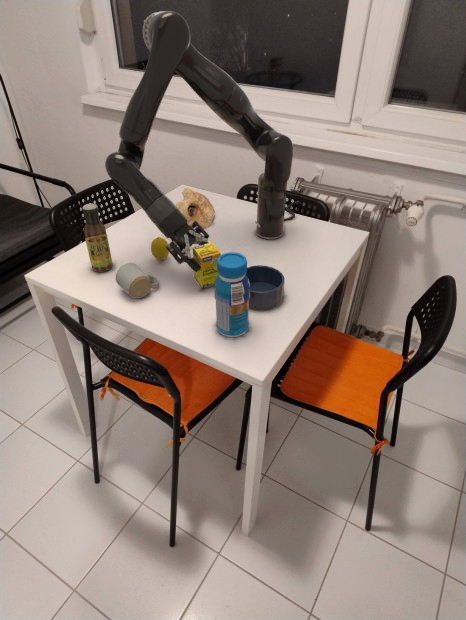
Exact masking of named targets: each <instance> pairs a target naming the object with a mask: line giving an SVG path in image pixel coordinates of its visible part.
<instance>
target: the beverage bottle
mask: <svg viewBox="0 0 466 620" xmlns="http://www.w3.org/2000/svg"><path fill="white" fill-rule="evenodd" d="M247 267H248V260H247V257H246V255H244V254H242V253H240V252H234V251H230V252H229V251H228V252H224V253H221V255H220V256H219V257H218V259H217V272H218V274H219V275H218V276H217V278H216V280H215V285H214V286H213V287H214V293H213V294H214V296H213V297H214V299H215V314H216V315H215V317H216V320H215V326H216V330H217V331H218V333H219V334H221V335H222V336H224V337H227V338H237V337H240V336H243V335H244V334H245V333H246V332H247V331H248V329H249V328H250V327H249V326H250V324H249V321H250V320H249V312H250V311H249V310H250V309H249V299H250V290H249V287H250V282H249V279H248V277H247V276H246V272H247Z"/></svg>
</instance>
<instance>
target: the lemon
mask: <svg viewBox="0 0 466 620" xmlns="http://www.w3.org/2000/svg"><path fill="white" fill-rule="evenodd" d="M168 244H169V242H168V241H167V240H166V239H165V238H164V237H160V236H157V237H156V238H153V239H152V241H151V243H150V251H151V255H152V256H153V257H154V258H155V259H156V260H160V261H164V259H166V258H167V257H168V256H169V254H170V252H169V251H168V250H167V249H166V246H167V245H168Z"/></svg>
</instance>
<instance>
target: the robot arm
mask: <svg viewBox="0 0 466 620" xmlns="http://www.w3.org/2000/svg"><path fill="white" fill-rule="evenodd" d="M142 37H143V41H144V43H145V46H146V47H147V49H148V50H149V56H148V60H147V64H146V68H145V70H144V72H143V74H142V76H141V79H140V81H139V83H138V84H137V86H136V88H135V90H134V92H133V94H132V95H131V98H130V99H129V101H128V104H127V106H126V108H125V112H124V115H123V118H122V121H121V124H120V128H119V133H118V136H119V139H120V141H119V145H118V150H117V151H115V152H112V153H110V154H108V156H107V157H106V158H105V161H104V168H105V171H106V173H107V175H108V177H109V178H110V179H111V180H112V181H113V182H114V183H115V184H116V186H118V187H119V188H120V189H121V190H123V192H125V193H126V194H127V195H129V196H130V197H131V198H132V199H133V200H134V201H135V203H136V204H137V205H138V206H139V207H140V209H141V210H142V211H143V212H144V213H145V214H146V216H147V217H148V219H149V220H150V221H151V222H152V224H154V226H155V227H156V228H157V229H158V230H159V232H160V233H162V234H163V236H164V237H165V238H166V239H169V240H171V241H170V242H168V245H167V246H166V249H167V250H168V251H169V254H170V255H171V256H172V257H173V258H174V260H175V261H176V262H177V263H178V265H181V264H183V263H185V264H187V266H188V267H189V268H190V269H191V270H192V271H193V272H194V271H195V272H197V271H199V270H200V269H201V266H200V265H199V264H198V263H197V262H196V261H195V259H194V258H193V256H192V254H191V249H192V248H191V247H193V245H197V246H200V245H204V244H207V243H209V238H210V235H209V233H208V232H207V231H206V229H204V228H202V227H201V226H200V225H199V224H198V223H197V222H196V221H194V222H193V223H192V224H191V225H190V226H189V225H188V224H187V222H188V220H187V219H186V217H185V216H184V215H183V214H182V213H181V212H180V210H179V209H178V208H177V207H176V206H175V205H176V204H175V203H174V202H173V201H172V200H171V199H170V198H169V197H168V196H166V194H165V193H164V192H163V191H162V190H161V188H160V187H159V186H158V185H157V184H156V183H155V182H154V181H153V180H152V179H150V178H149V177H146V176H145V175H144V174H143V172H141V168H142V164H143V161H144V156H145V151H146V144H147V142H148V140H149V137H150V134H151V132H152V129H153V126H154V123H155V120H156V117H157V114H158V111H159V109H160V107H161V103H162V101H163V99H164V96H165V95H166V92H167V90H168V88H169V85H170V84H171V81H172V79H173V77H174V76H175V73H176V74H177V75H178V76H179V77H180V78H182V79H183V81H184V82H185V83H186V84H187V85H188V86H189V87H190V89H192V91H193V92H194V93H195V95H197V96H198V97H199V98H200V100H202V101H203V102H204V104H206V106H207V107H208V108H209V109H210V110H211V111H212V112H213V113H214V114H215V115H216V116H217V117H218V118H220V120H222V121H223V122H224V123H225V124H226V125H227V126H229V127H230V128H231V129H232V130H234V131H235V132H236V133H238V134H239V135H240V136H242V137H243V139H244V140H245V141H246V143H248V145H249V146H250V147H251V148H252V149H253V151H254V152H255V153H256V155H257V156H258V157H259V159H261V160H262V161H264V171H263V172H262V173H261V174H259V176H258V179H257V203H256V220H255V225H256V230H255V234H256V236H257V237H258V238H261V239H263V240H278V239H280V238H281V237H283V235H284V226H285V225H284V224H285V222H286V221H291V220H292V219H294V218H295V216H296V213H295V212H294V211H293V210H291V209H290V208H291V206H294V205H296V204H298V205H303V203H302V202H301V201H299V200H297V201H293V202H291V203H289V204H288V205H287V206H286V201H287V189H288V182H289V179H290V178H291V174H292V166H293V158H294V144H293V141H292V139H291V138H290V137H289V136H288V135H286V134H284V133H282V132H281V131H278V130H277V129H275V128H273V127H272V126H271V125H270V124H269V123H268V122H266V121H265V120H264V119H263V118H262V117H261V116H260V115H259V114H258V112H257V111H256V109H255V107H254V105H253V103H252V101H251V99H250V98H249V96H248V95H247V93H246V92H245V91H244V89H242V87H241V86H240V85H239V84H238V83H237V81H236V80H235V79H233V77H232V76H230V75H229V74H228V73H227V72H226V71H224V69H222V68H221V67H219V66H218V65H216V64H215V63H214V62H212V61H211V60H209V59H208V58H206V57H205V56H204V55H203V54H202V53H200V52H199V51H198V49H196V48H195V46H194V45H193V44H192V43H191V31H190V26H189V23H188V22H187V20H186V19H185V18H184V17H183V16H182V15H181V14H180V13H178V12H175V11H171V10H166V11H165V10H164V11H163V10H162V11H156V12H153V13H151V14H150V15H148V16H147V17H146V19H145V20H144V22H143V26H142ZM286 211H287V212H288V213H290V214H291V216H289V217H287V218H285V212H286Z"/></svg>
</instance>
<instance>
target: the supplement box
mask: <svg viewBox="0 0 466 620" xmlns="http://www.w3.org/2000/svg"><path fill="white" fill-rule="evenodd" d="M220 255H222V252H221V251H220V249H218V247H217V246H216V245H215V244H214V243H213V241H210V242H208V243H207V244H204V245H196V246H192V257H193V258H194V259H195V261H196V262H197V263H198V264H199V265H200V266H201V269H200V270H199V271H197V272H195V271H193V279H194V280H195V281H196V283H197V284H198V286H199V287H200V289H201V290H205V289H207V288H211V287H215V286H214V285H215V280H216V278H217V276H218V275H219V274H218V272H217V259H218V257H219V256H220Z"/></svg>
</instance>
